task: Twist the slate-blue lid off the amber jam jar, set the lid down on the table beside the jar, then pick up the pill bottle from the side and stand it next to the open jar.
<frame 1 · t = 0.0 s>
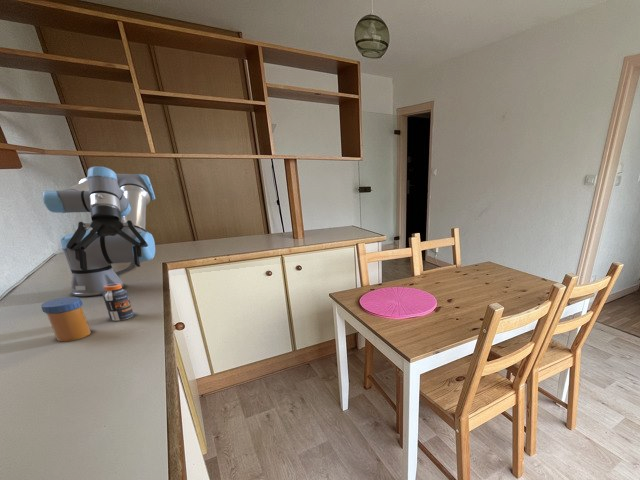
hand: (111, 267, 103), 15 cm above the counter, tool tilted 35°, fingers open, 13 cm apart
lid: (61, 303, 87), point 10 cm above the counter, screwed on, not yet turned
jar: (74, 335, 90), on the counter
pill bottle: (122, 317, 103), on the counter
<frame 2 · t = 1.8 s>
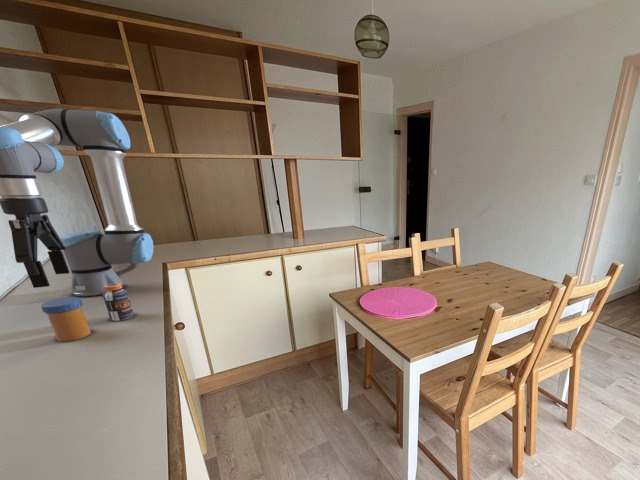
hand: (53, 279, 84), 17 cm above the counter, tool pointing down, fingers open, 13 cm apart
nothing on the counter moved.
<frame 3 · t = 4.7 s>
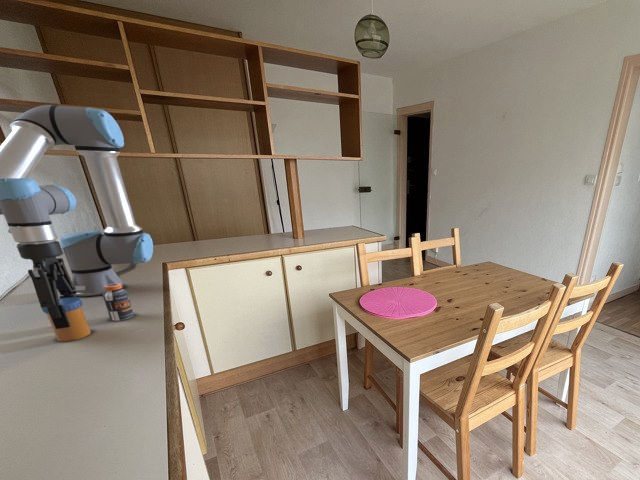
hand: (68, 321, 89), 5 cm above the counter, tool pointing down, fingers closed on lid, 8 cm apart
lid: (61, 303, 87), point 10 cm above the counter, screwed on, not yet turned, touching gripper
everything else where it was.
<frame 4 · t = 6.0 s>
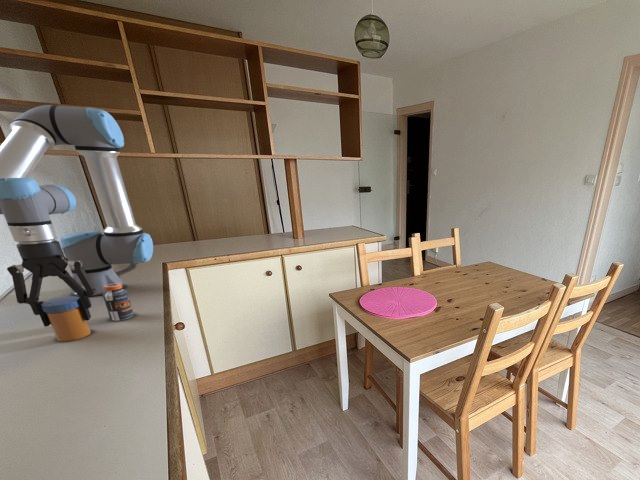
hand: (68, 321, 89), 5 cm above the counter, tool pointing down, fingers closed on lid, 8 cm apart
lid: (61, 302, 87), point 10 cm above the counter, off its thread, touching gripper
everything else where it was.
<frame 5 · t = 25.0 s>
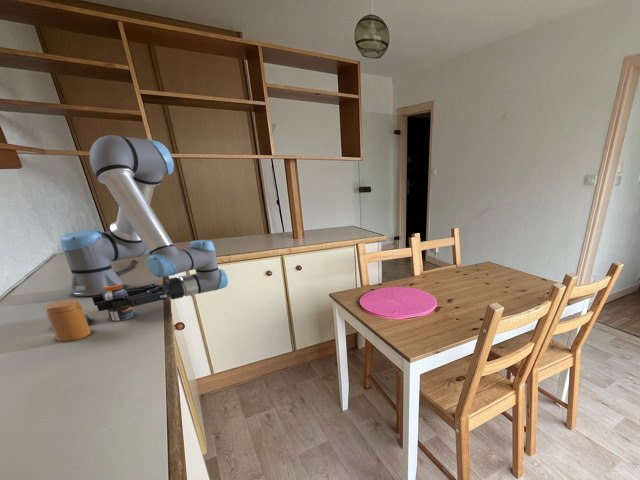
hand: (95, 304, 97), 6 cm above the counter, tool horizontal, fingers closed on pill bottle, 6 cm apart
lid: (71, 319, 97), point 1 cm above the counter, off its thread
pill bottle: (122, 317, 103), on the counter, touching gripper
everything else where it was.
when the fingers open (6 cm above the counter, at t = 32.3 s): pill bottle stays where it is, on the counter.
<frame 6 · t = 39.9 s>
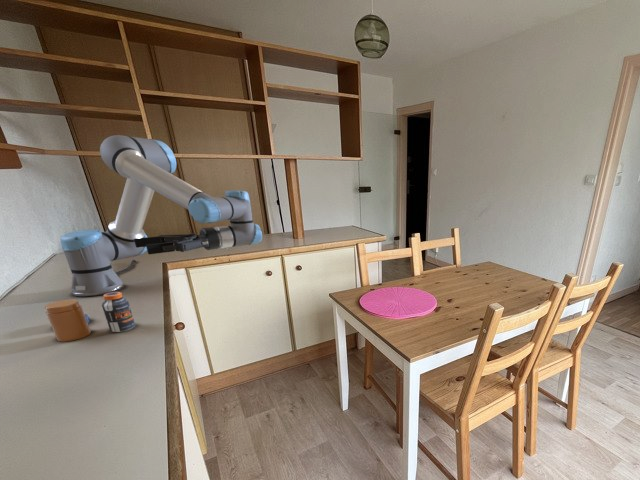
hand: (140, 246, 94), 24 cm above the counter, tool horizontal, fingers open, 13 cm apart
pill bottle: (123, 328, 96), on the counter
everything else where it was.
at the end: lid point 1.5 cm above the counter; the gripper is holding nothing; pill bottle inside the target area (0.0 cm from its centre), on the counter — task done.
